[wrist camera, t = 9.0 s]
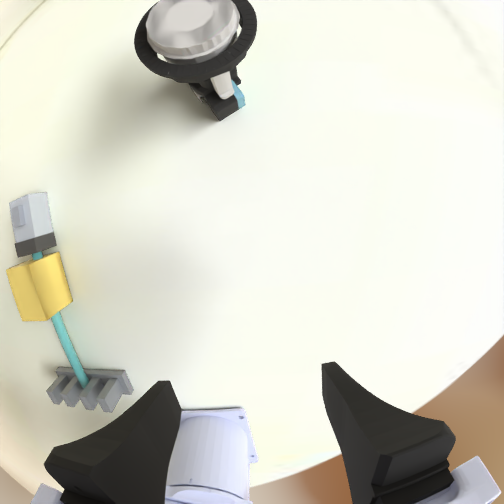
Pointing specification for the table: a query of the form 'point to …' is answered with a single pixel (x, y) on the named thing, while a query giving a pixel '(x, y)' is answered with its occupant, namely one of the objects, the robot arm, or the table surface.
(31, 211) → the connector
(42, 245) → the band
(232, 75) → the push button
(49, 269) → the marker sleeve
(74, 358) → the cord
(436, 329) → the table surface
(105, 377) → the cable comb
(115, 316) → the table surface
